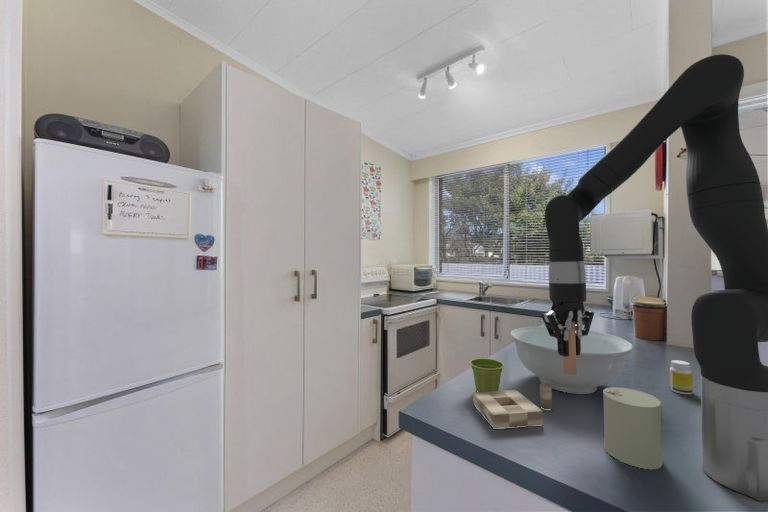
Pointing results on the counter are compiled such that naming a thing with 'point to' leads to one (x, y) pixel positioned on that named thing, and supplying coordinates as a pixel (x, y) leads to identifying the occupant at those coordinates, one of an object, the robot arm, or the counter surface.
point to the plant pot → (486, 374)
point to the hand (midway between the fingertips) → (569, 354)
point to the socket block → (507, 409)
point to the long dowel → (570, 353)
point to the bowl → (594, 363)
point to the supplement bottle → (680, 377)
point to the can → (632, 427)
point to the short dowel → (545, 396)
